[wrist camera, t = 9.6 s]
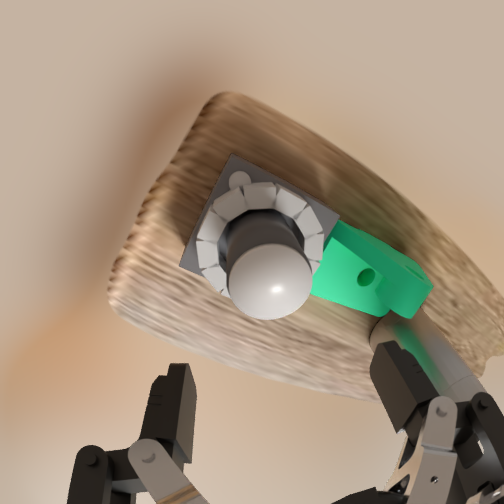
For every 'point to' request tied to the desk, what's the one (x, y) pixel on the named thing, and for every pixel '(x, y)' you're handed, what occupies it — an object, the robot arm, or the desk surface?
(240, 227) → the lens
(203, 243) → the segmented ring socket plate
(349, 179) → the desk surface
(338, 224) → the camera mount
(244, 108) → the desk surface
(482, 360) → the desk surface
